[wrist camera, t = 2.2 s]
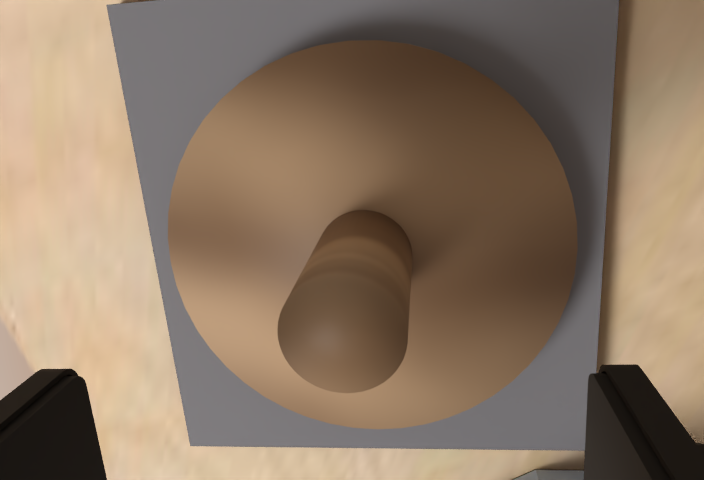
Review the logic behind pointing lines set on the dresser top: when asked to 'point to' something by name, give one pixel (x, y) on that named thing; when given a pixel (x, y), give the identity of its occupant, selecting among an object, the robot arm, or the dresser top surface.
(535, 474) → the bowl
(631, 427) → the robot arm
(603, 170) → the mat
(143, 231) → the dresser top surface
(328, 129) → the lid
